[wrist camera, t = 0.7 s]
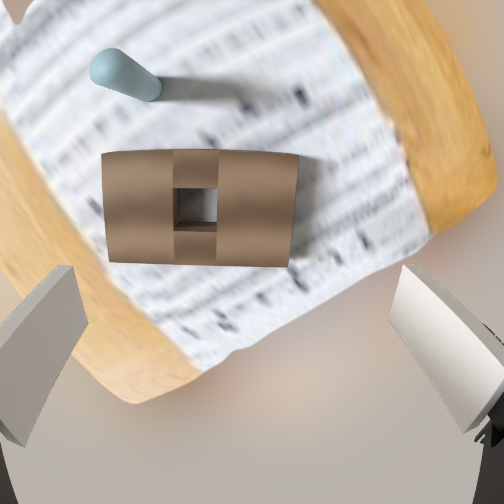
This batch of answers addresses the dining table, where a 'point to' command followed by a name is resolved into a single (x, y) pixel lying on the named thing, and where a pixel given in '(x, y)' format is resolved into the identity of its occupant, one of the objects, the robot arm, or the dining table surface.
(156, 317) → the dining table surface
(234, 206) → the hole block
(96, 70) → the peg
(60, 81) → the dining table surface
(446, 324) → the robot arm
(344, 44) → the dining table surface
